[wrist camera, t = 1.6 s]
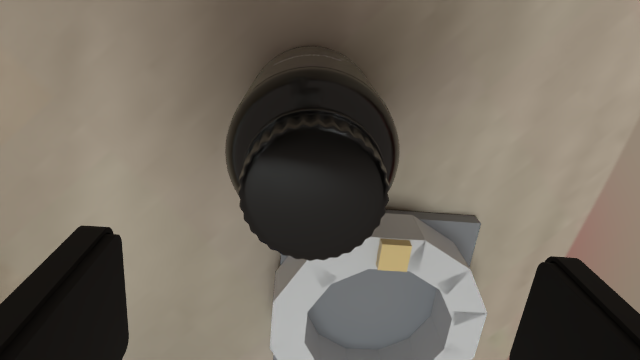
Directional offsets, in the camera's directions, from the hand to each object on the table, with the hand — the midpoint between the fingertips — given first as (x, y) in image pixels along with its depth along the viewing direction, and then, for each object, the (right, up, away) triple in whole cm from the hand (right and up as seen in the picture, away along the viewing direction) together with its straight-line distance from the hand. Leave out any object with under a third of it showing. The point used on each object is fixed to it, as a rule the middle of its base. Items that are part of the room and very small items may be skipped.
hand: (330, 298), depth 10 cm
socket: (+3, -5, +20) cm, 20 cm away
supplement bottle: (-1, +7, +15) cm, 17 cm away
